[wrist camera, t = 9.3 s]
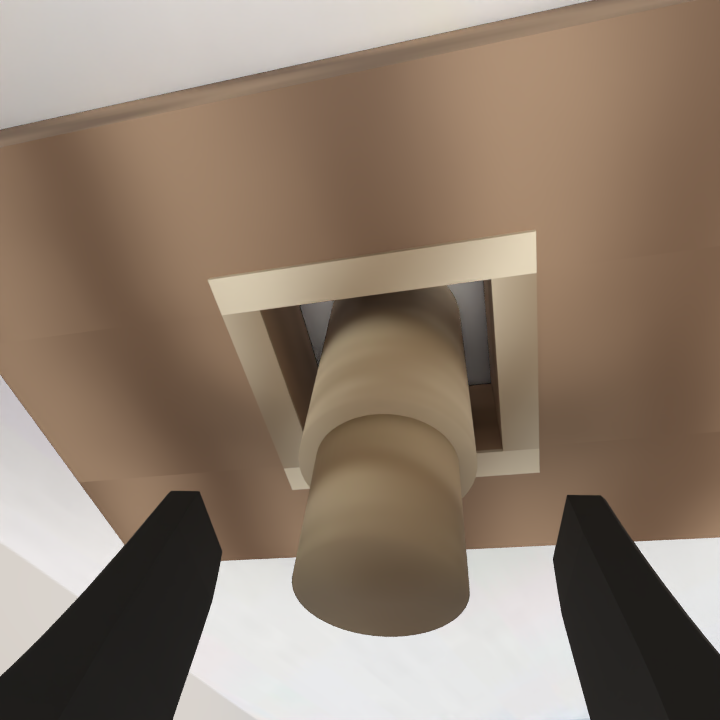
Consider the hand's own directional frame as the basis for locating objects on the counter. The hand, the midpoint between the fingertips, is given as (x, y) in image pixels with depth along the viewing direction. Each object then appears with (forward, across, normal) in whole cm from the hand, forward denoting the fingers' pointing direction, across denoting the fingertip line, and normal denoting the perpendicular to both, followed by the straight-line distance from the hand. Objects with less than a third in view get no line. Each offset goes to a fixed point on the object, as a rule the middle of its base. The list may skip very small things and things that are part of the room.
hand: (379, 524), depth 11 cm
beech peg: (+8, 0, 0) cm, 8 cm away
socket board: (+8, 0, 0) cm, 8 cm away
